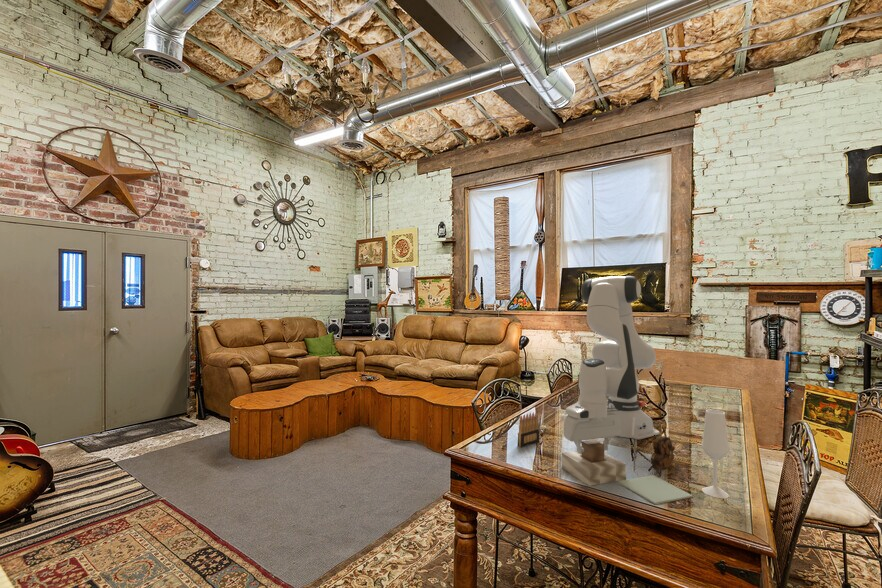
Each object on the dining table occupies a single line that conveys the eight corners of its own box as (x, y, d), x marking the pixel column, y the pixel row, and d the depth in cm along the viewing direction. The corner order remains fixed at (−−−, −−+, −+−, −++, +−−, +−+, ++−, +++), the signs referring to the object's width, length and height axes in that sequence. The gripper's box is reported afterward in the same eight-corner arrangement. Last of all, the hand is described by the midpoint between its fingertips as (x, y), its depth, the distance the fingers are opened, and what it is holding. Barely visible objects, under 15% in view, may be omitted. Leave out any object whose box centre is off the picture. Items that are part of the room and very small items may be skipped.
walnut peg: (593, 469, 136) (593, 439, 136) (604, 475, 131) (604, 444, 131) (581, 471, 134) (581, 441, 134) (591, 477, 129) (591, 446, 129)
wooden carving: (664, 476, 131) (664, 445, 131) (649, 472, 134) (649, 442, 134) (677, 461, 143) (677, 433, 143) (662, 458, 146) (663, 430, 146)
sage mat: (653, 476, 130) (653, 475, 130) (692, 497, 117) (692, 495, 117) (618, 482, 126) (618, 481, 126) (654, 504, 113) (655, 502, 113)
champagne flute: (698, 486, 124) (698, 407, 124) (723, 489, 122) (724, 409, 122) (706, 496, 118) (706, 413, 118) (732, 499, 116) (733, 415, 116)
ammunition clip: (521, 447, 155) (521, 416, 155) (517, 446, 157) (517, 415, 157) (539, 441, 161) (539, 411, 161) (535, 440, 163) (536, 410, 163)
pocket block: (595, 462, 141) (595, 448, 141) (625, 479, 128) (626, 463, 128) (561, 467, 137) (561, 452, 137) (589, 485, 124) (589, 469, 124)
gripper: (611, 404, 139) (611, 445, 139) (560, 409, 132) (560, 451, 132) (625, 409, 133) (625, 451, 133) (573, 414, 126) (572, 458, 126)
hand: (592, 451), depth 132 cm, fingers open, 8 cm apart
